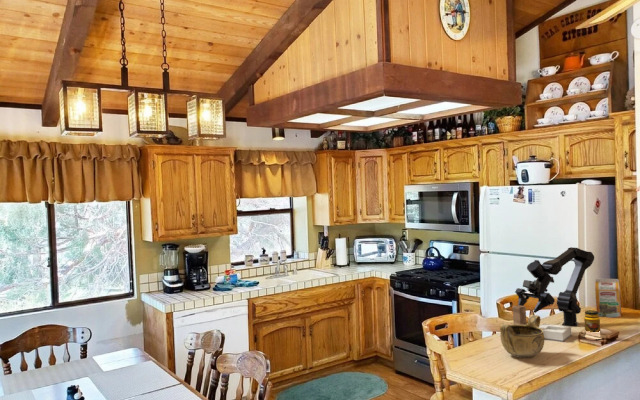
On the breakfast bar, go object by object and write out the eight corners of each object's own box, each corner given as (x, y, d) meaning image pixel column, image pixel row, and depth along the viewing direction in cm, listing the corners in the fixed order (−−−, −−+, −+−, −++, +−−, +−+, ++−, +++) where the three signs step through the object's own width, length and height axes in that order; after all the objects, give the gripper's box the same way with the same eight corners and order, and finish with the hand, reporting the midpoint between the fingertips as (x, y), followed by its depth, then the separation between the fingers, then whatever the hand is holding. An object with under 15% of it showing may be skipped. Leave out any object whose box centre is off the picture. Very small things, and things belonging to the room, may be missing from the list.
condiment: (593, 341, 222) (591, 313, 222) (577, 336, 230) (576, 310, 230) (606, 338, 224) (604, 311, 224) (590, 334, 232) (589, 308, 232)
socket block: (544, 332, 240) (543, 323, 240) (571, 335, 232) (570, 326, 232) (535, 338, 231) (534, 329, 231) (563, 341, 223) (562, 332, 223)
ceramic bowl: (522, 346, 221) (520, 311, 221) (558, 354, 207) (556, 317, 207) (488, 357, 209) (486, 320, 209) (524, 367, 195) (522, 328, 195)
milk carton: (621, 313, 265) (619, 277, 265) (620, 318, 256) (618, 280, 256) (598, 312, 271) (596, 276, 271) (596, 317, 262) (594, 280, 262)
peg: (520, 334, 238) (518, 305, 238) (527, 336, 234) (525, 306, 234) (514, 336, 236) (512, 306, 236) (521, 338, 233) (519, 307, 233)
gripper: (516, 271, 248) (501, 297, 243) (548, 275, 231) (533, 303, 226) (528, 285, 252) (514, 311, 247) (561, 290, 235) (546, 318, 230)
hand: (526, 310), depth 237 cm, fingers open, 9 cm apart
